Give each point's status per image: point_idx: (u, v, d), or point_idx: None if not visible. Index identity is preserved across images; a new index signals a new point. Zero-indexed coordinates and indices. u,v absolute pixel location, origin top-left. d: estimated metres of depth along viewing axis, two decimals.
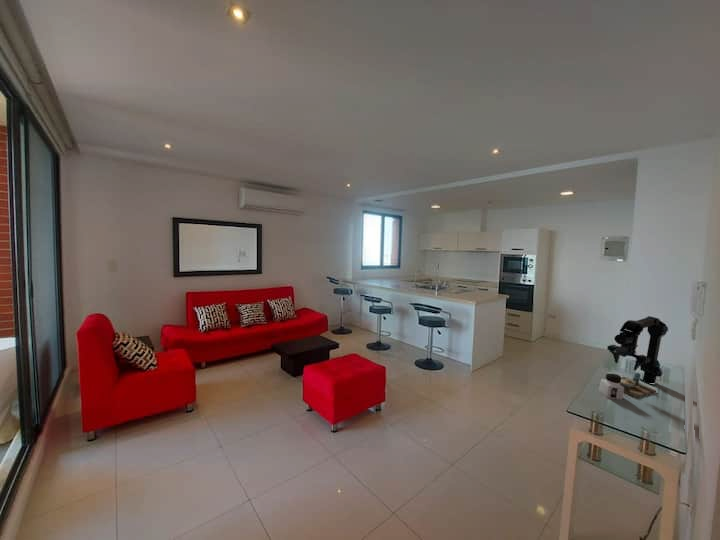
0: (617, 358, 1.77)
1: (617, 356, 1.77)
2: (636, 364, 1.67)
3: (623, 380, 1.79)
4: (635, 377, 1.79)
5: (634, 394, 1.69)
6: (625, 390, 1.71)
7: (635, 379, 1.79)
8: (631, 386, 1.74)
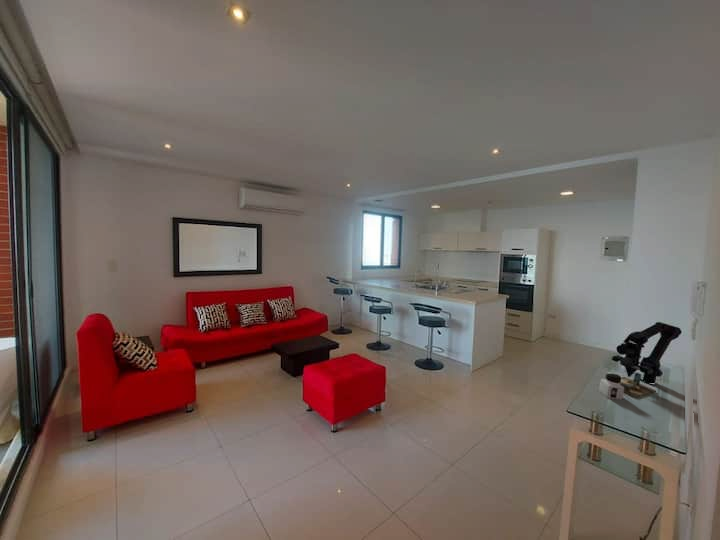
0: None
1: None
2: (631, 371, 1.80)
3: (623, 380, 1.79)
4: (636, 377, 1.79)
5: (634, 394, 1.69)
6: (625, 390, 1.71)
7: (636, 379, 1.79)
8: (631, 386, 1.74)
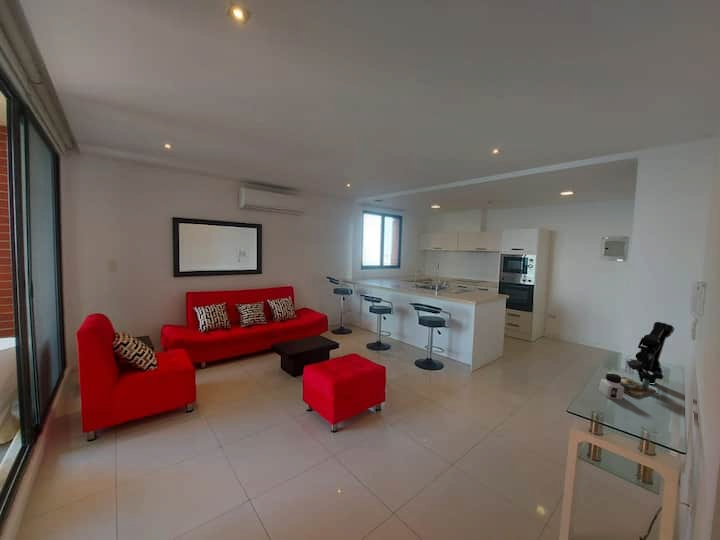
0: None
1: None
2: (641, 375, 1.75)
3: (624, 379, 1.80)
4: (642, 382, 1.74)
5: (634, 394, 1.69)
6: (625, 390, 1.71)
7: (642, 384, 1.74)
8: None
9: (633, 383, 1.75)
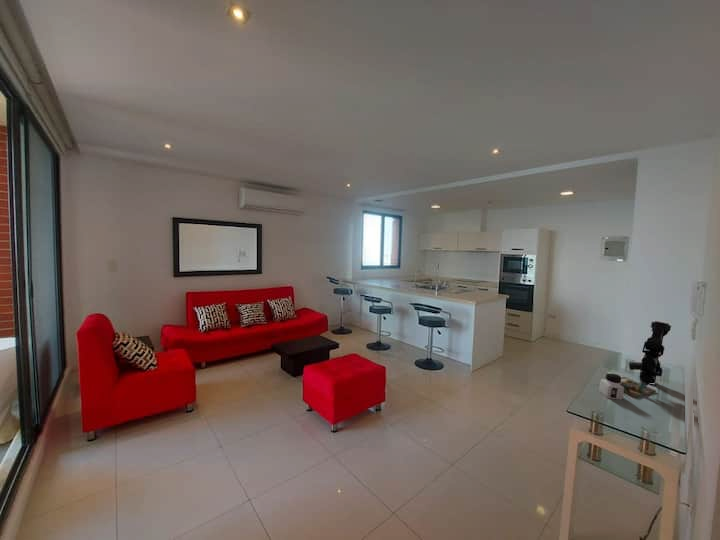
0: (646, 381, 1.71)
1: None
2: None
3: (628, 380, 1.79)
4: None
5: (634, 394, 1.69)
6: (625, 390, 1.71)
7: None
8: None
9: (630, 383, 1.75)
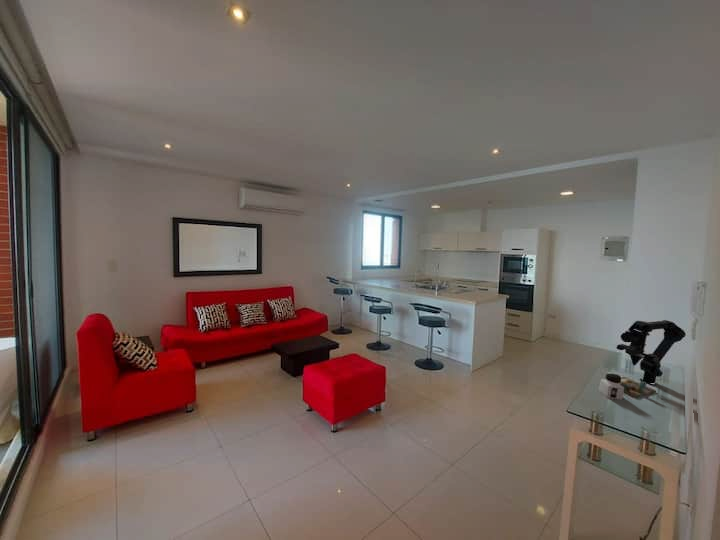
0: (634, 360, 1.82)
1: (634, 358, 1.81)
2: (636, 359, 1.80)
3: (628, 380, 1.79)
4: None
5: (634, 394, 1.69)
6: (625, 390, 1.71)
7: None
8: None
9: (630, 383, 1.75)
